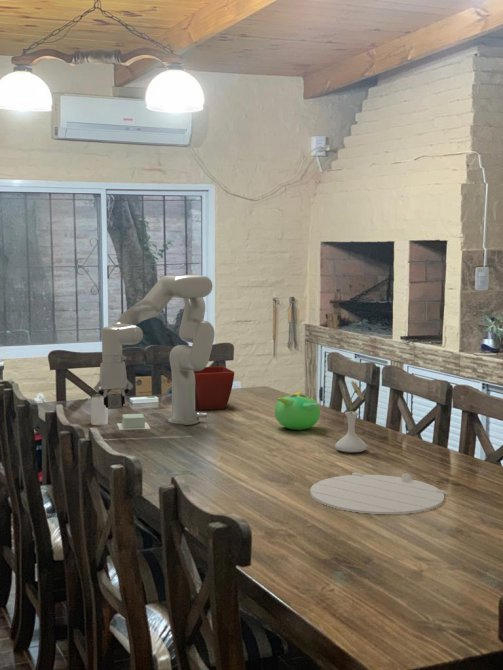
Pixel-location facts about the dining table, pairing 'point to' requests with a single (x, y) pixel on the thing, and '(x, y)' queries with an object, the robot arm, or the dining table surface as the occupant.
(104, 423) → the can
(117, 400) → the dice cube
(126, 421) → the sage brick
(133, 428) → the baseplate
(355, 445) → the flower in vase
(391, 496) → the lazy susan
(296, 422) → the toy bird
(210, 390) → the plant pot
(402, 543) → the dining table surface
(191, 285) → the robot arm
